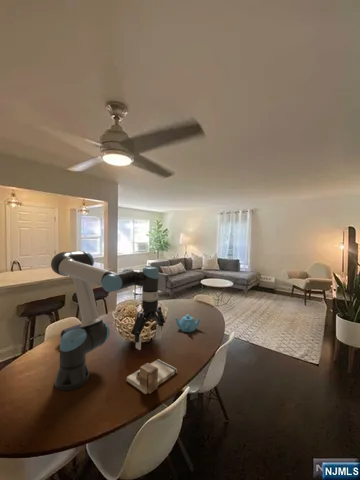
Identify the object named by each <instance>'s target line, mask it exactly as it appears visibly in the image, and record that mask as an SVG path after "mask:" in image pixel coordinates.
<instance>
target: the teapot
mask: <svg viewBox="0 0 360 480" xmlns="http://www.w3.org/2000/svg"><path fill="white" fill-rule="evenodd" d="M174 319H175V322H176V325H177V327H178V329H179V330H180V331H181V332H183V333H193V332H194V331H196V330H197V328H198V326H199V323H200V321H201V317H200V318H198V319H196V321H195V318H194V317H193V316H190V314H188V313H187V314H186V315H185V316H182V317H181V319H180V321H179V319H178V317H175V318H174Z"/></svg>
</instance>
